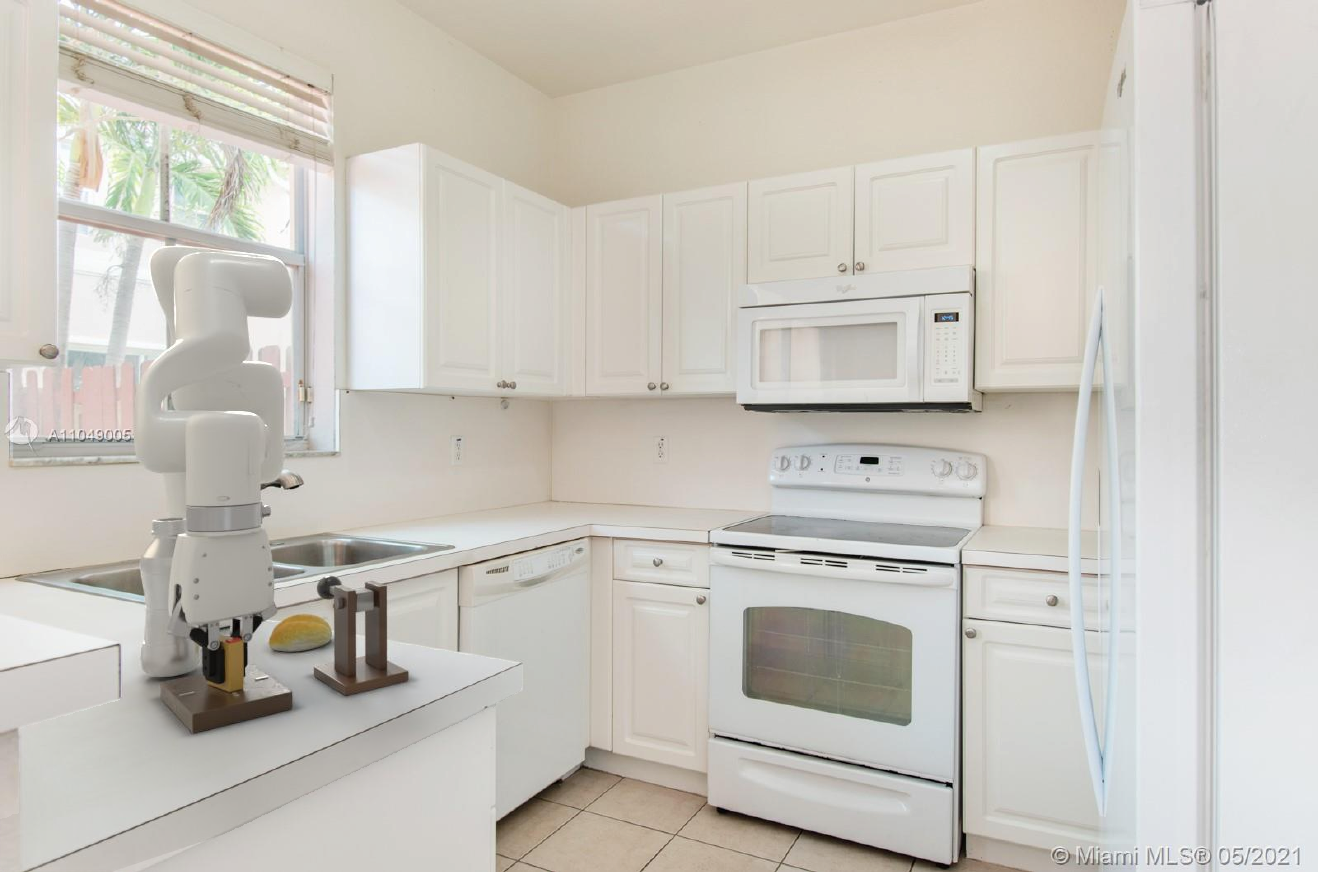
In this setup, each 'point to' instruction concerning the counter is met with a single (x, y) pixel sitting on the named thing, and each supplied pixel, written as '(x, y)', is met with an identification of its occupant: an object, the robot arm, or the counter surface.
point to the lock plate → (224, 700)
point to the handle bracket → (346, 668)
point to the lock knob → (232, 664)
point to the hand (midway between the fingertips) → (225, 677)
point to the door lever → (362, 594)
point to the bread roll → (300, 633)
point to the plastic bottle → (163, 606)
